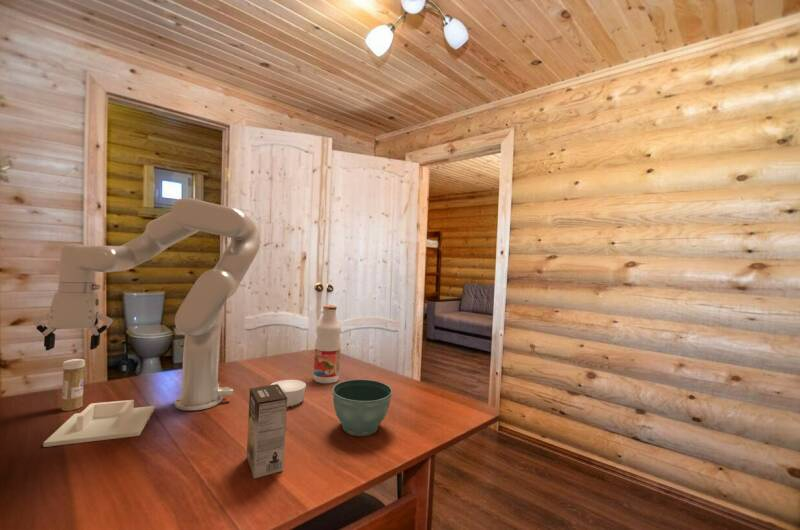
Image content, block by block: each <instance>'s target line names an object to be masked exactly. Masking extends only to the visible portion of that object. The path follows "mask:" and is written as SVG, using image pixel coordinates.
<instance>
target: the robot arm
mask: <svg viewBox="0 0 800 530" xmlns="http://www.w3.org/2000/svg"><path fill="white" fill-rule="evenodd" d="M199 232H203V233H208V234H213V235H218V236H222V237H226V238H228V239H229V238H230V242H229V244H228V246H227V247H226V249H225V250H224V252H223V253H222V254H221V256H220V258H219V260H218V261H217V263H216V265H215V266H214V267H213V268H212V269H208V270H206V271H205V272H203V273H202V274H200V276H199V277H198V278H197V280H195V282H194V284H193V286H192V287H191V289H190V290H189V291H188V293H187V295H186V296H185V299H184V300H183V301H182V303H181V305H180V306H179V307H178V309H177V311H176V313H175V317H174V325H175V327H176V329H177V331H178V332H179V333H180V334H182V335H183V336H184V339H183V353H182V354H183V355H182V358H183V359H182V374H181V376H182V377H181V395H180V396H179V397H177V399H176V400H175V401H174V407H175V408H177V409H178V410H179V411H180V410H182V411H189V412H190V411H200V410H206V409H210V408H213V407H215V406H217V405H219V404H220V403H221V402H222V401H223V396H233V394H234V388H230V386H229V387H228V386H225V387H221V386H220V383H219V381H218V380H219V379H218V377H219V361H220V359H219V358H220V342H221V330H222V323H223V307H224V305H225V304H226V302H227V301H228V300H229V298H231V297H233V295H235V293H236V292H237V290H238V288H239V286H240V284H241V283H242V281H243V280H244V277H245V276H246V274H247V272H248V270H249V269H250V266H251V265H252V263H253V261H254V260H255V258H256V257H257V254H258V251H259V248H260V245H261V236H260V232H259V229H258V228H257V225H256V224H255V222H254V221H253V220H252V218H250V216H249V215H247V214H246V213H244V212H243V211H241V210H239V209H237V208H234V207H230V206H226V205H222V204H217V203H213V202H209V201H204V200H200V199H197V198H193V197H183V198H181V199H178V200H177V201H175V202H174V203H173V205H172V207H171V208H170V211H169V212H167V213H165V214H163V215H161V216H159V217H157V218H155V219H153V220H150V221H149V222H148V223H147V224H146V226H145V230H144V231H143V233H141V234H140V235H139V236H138V237H135V238H134V239H132V240H130V241H127V242H125V243H124V244H122V245H91V244H82V243H81V244H79V243H66V244H63V245H61V248H60V256H59V257H60V258H59V269H58V270H59V271H58V285H57V286H58V287H57V292H54V294H53V298H52V299H51V304H50V308H49V313H46V314H44V315H41V316H38V317H35V318H33V319H32V323H33V324H34V326H35V327H36V330H37V331H38V332H40V333H41V334H42V336H43V337H44V340H43V347H44V348H45V351H50V350H52V349H54V348H55V342H56V333H55V331H56V330H89V331H90V332H91V333H92V335H90V346H89V349H90V350H95V349H97V348H98V346H99V345H100V344H101V343H100V341H101V334H102V333H103V332H104V331H106V330H107V329H108V328H109V327H110V325H111V324H112V323H113V321H114V320H113V318H111V317H109V316H106V315H105V314H103V313H100V301H99V300H100V299H99V298H100V297H99V295H98V294H99V293H98V292H95V291H97V290H101V284H96V282H95V280H96V279H95V278H96V272H98V273H114V272H125V271H128V270H130V269H133V268H135V267H138V266H140V265H141V264H144V263H145V262H147V261H149V260H151V259H153V258H155V257H156V256H157V255H159V254H161V253H162V252H164V251H165V250H166V249H167V248H169V247H171V246H173V245H175V244H177V243H179V242H181V241H183V240H185V239H187V238H189V237H191V236H193V235H195V234H197V233H199ZM47 319H48V321H47V325H48V327H47V326H46V325H45V324H44V323H43V322H44V321H45V320H47ZM100 321H102V322H103V325H102V326H101V327H100V326H99V323H100Z"/></svg>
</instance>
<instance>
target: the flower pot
mask: <svg viewBox="0 0 800 530" xmlns="http://www.w3.org/2000/svg"><path fill="white" fill-rule="evenodd" d="M392 395H393V389H392V388H391V386H390V385H388V384H386V383H384V382H380V381H377V380H373V379H372V380H371V379H349V380H343V381H341V382H337V383H336V384H334V386H333V387H332V397H333V400H332V401H333V408H334V411H335V415H336V418H337V419H338V421H339V422H340V424H341V425H342V429H343V431H344V432H345V433H346V434H349V435H351V436H357V437H364V436H369V435H373V434H375V433H376V432H377V431H378V428H379V425H380V424H381V423H382V422H383V420H384V419H385V417H386V415H387V412H388V411H389V408H390V404H391V398H392Z"/></svg>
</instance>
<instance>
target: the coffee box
mask: <svg viewBox="0 0 800 530" xmlns="http://www.w3.org/2000/svg"><path fill="white" fill-rule="evenodd" d="M248 400H249V401H248V421H247V422H248V423H247V445H246V459H247V462H248V465H249V468H250V471H251V474H252V477H253V479H258V478H262V477H265V476H269V475H272V474H273V475H274V474H276V473H277V474H278V473H280V472H283V471H284V467H285V465H284V463H285V445H286V430H287V429H286V427H287V410H288V407H287V396H286V395H285V394H284V392H283V391H282V389H281V388H280V386H279V385H278V384H275V385H271V384H270V385H269V384H268V385H263V386H257V387H250V388H249V399H248Z"/></svg>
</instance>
